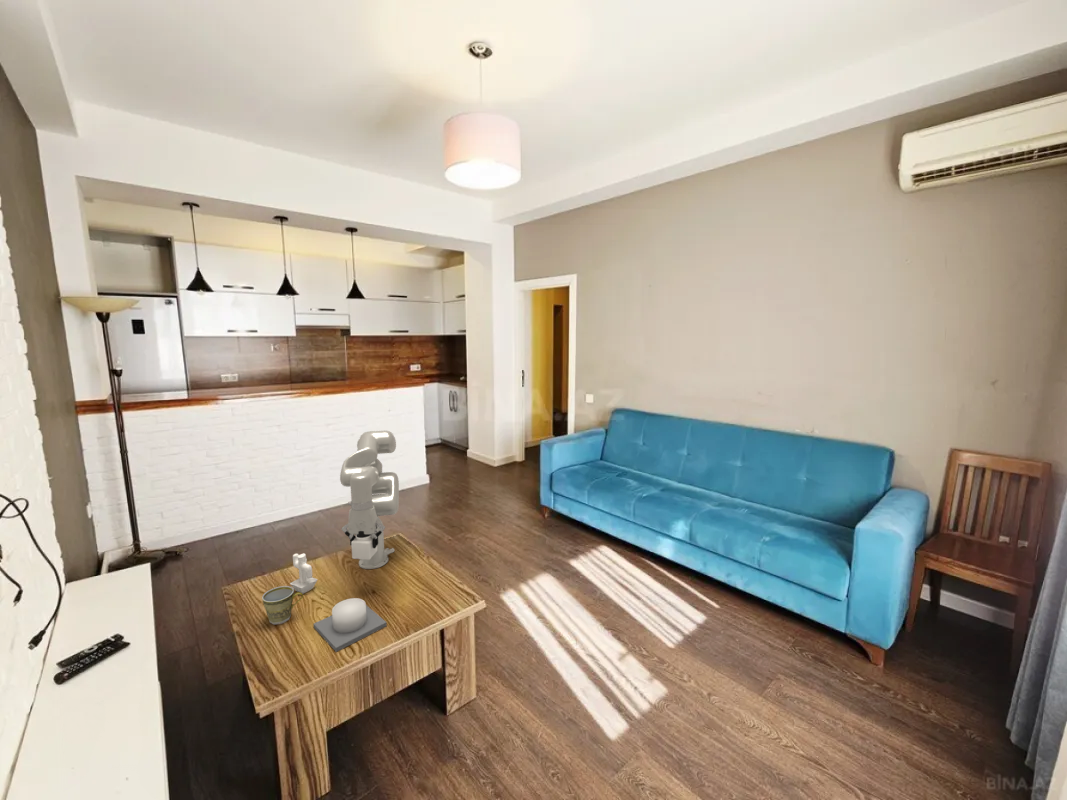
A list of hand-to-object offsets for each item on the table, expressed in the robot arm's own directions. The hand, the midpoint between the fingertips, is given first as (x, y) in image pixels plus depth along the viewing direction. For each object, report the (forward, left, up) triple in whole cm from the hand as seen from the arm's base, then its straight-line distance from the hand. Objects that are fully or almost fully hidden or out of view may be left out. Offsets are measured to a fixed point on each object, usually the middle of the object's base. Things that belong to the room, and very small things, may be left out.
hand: (364, 546), depth 178 cm
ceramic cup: (+28, -7, -20) cm, 35 cm away
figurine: (+16, -21, -20) cm, 33 cm away
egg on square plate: (+14, +15, -20) cm, 29 cm away
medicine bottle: (0, 0, -4) cm, 4 cm away
